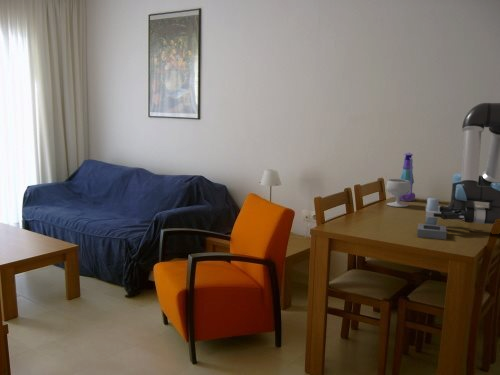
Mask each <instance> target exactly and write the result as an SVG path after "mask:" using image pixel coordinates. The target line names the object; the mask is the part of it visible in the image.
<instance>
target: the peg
mask: <svg viewBox="0 0 500 375" xmlns="http://www.w3.org/2000/svg"><path fill="white" fill-rule="evenodd" d="M426 206H427V211H435V212H438V206H439V198H435V197H434V198H433V197H428V198H426ZM437 221H438V218H434V217H426V216H425V224H431V225H438V224H437V223H438V222H437Z"/></svg>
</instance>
